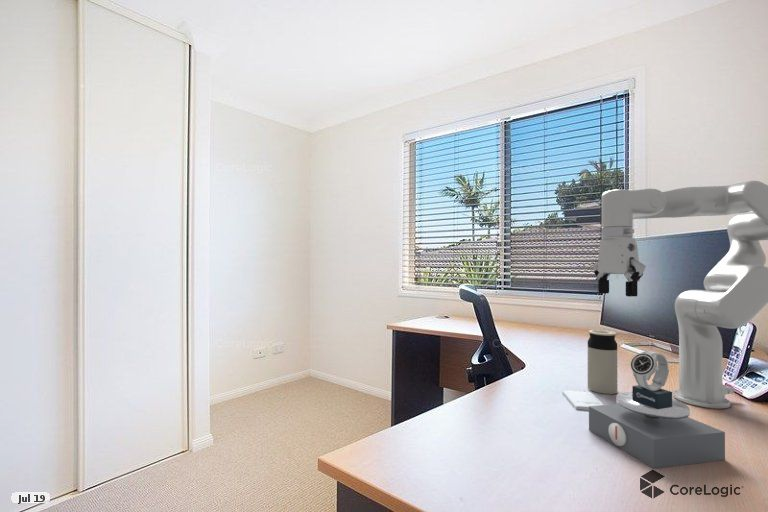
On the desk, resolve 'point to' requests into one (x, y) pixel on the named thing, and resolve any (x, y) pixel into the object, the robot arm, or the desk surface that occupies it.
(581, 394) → the external hard drive
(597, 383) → the travel mug
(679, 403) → the scale pan
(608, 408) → the scale
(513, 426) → the desk surface
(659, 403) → the watch
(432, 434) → the desk surface
